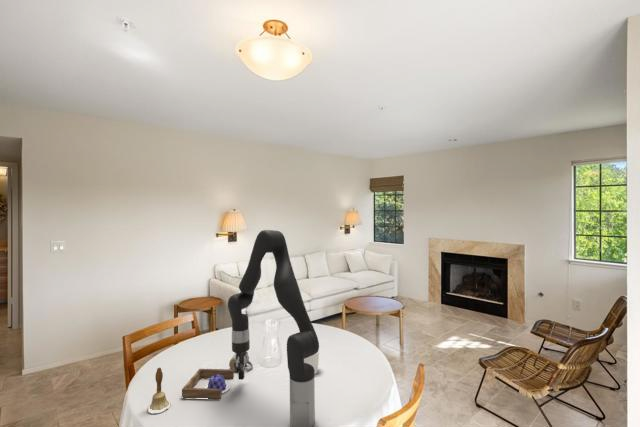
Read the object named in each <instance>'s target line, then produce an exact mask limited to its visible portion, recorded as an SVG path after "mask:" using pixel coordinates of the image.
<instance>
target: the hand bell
mask: <svg viewBox="0 0 640 427" xmlns="http://www.w3.org/2000/svg"><path fill="white" fill-rule="evenodd" d="M155 372H156V373H155V382H156V392H155V393H154V394H153V395H152V400H151V403H150V405H149V406H150V409H152V410H161V409H163V408H165V407H167V406H168V405H169V403H170V402H169V401H168V400H167V398H166V393H165V392H164V391H162V381H163V378H164V375H163V374H164V373H163V370H162V368H161V367H157V368H156V371H155Z"/></svg>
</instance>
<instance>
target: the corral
mask: <svg viewBox="0 0 640 427" xmlns="http://www.w3.org/2000/svg"><path fill="white" fill-rule="evenodd" d="M234 372H235V371H234V369H231V368H230V369H228V368H227V369H225V368H199V369H198V370H197V371H196V372H195V374H194V375H193V376H192V377H191V378H190V380H188V382H187V383H186V384H185V385H184V386H183V387H182V389H181V398H182V397H183V398H208V399H221V400H222V394H221V389H208V388H203V387H202V388H200V387H196V386H197V384H198V383H199V382H200V381H199V380H201V378H211V377H212V376H213V375H222V376H223V377H224V380H234V378H235V377H234V376H235V375H234ZM198 381H199V382H198ZM197 382H198V383H197ZM196 383H197V384H196ZM195 385H196V386H195ZM194 386H195V387H194ZM193 387H194V388H193Z"/></svg>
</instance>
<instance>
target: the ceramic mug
mask: <svg viewBox="0 0 640 427" xmlns="http://www.w3.org/2000/svg"><path fill="white" fill-rule="evenodd" d="M235 356H236V353H235V352H234V354H233V356H232V357H231V358H230V361H229V363H228V364H229V368H230V369H234V372H235V373H237V372H236V369H235V367H234V363H236V360H235ZM247 364H248V365H249V366H250V367H246V366H245V369H244V372H245V371H246V372H249V371H251V370H252V369H253V365H254V364H253V363H252V362H251V361H250V356H249V354H247V361H246V365H247Z"/></svg>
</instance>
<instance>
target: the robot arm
mask: <svg viewBox="0 0 640 427" xmlns="http://www.w3.org/2000/svg"><path fill="white" fill-rule="evenodd" d="M268 253H269V254H270V253H272V255H273V257H274V261H275V265H276V266H275V273H274V278H273V288H274V291H275V295H276V298H277V299H276V300H277V301H278V303H279V305H280V307H282V308H283V309H284V310H285V311H286V312H287V313H288V314H289V315H290V316H291V317H292V318H293V319H294V321H295V323H296V325H297V327H298V330H299V332H296V333H292V334H291V335H289V336H288V337H287V341H286V357H287V358H286V359H287V369H288V373H289V425H290V426H291V427H314V425H315V423H316V410H315V409H316V405H315V404H316V403H315V401H316V398H315V397H316V395H315V392H316V391H315V388H316V384H315V375H316V374H315V371H314V367H313V366H312V365H310V364H307V363H304V359H305V358H307V357H310V356H312V355H314V354H316V353H317V352H318V350H319V351H320V344H319V337H318V334H317V333H316V330H315V327H314V325H313V323H312V321H311V318H310V316H309V313H308V311H307V308H306V305H305V303H304V300H303V297H302V293H301V290H300V286H299V284H298V281H297V278H296V275H295V272H294V269H293V265H292V263H291V262H292V261H291V259H290V254H289V250H288V245H287V241H286V238H285V235H284V233H282V232H281V231H279V230H272V229H263V230H261V231H260V232H258V234H257V235H256V238H255V240H254V244H253V248H252V250H251V254H250V257H249V261H248V265H247V267H246V270H245V272H244V274H243V275H242V278H241V280H240V282H239V285H238V289H239V291H240V292H238V293H235V294H232V295H231V296H229V298H228V300H227V309H228V312H229V316H230V318H231V330H232V331H231V351H232V352H233V353H234V354H235V353H236V356H235V360H236V363H234V367H235V369H236V372H235V373H238V380H244V379H245V370H244V369H245V367H246V365H247V364H246V361H247V354H248V351H249V350H250V344H251V343H250V329H249V316H248V314H245V313H243V312H242V310H244V309H246V308H248V307H250V305H251V304H252V303H253V299H254V294H255V290H256V288H257V287H258V284H259V282H260V280H261V277H262V262H263V261H262V260H263V259H264V258H265V255H266V254H268ZM248 355H249V354H248Z"/></svg>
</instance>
